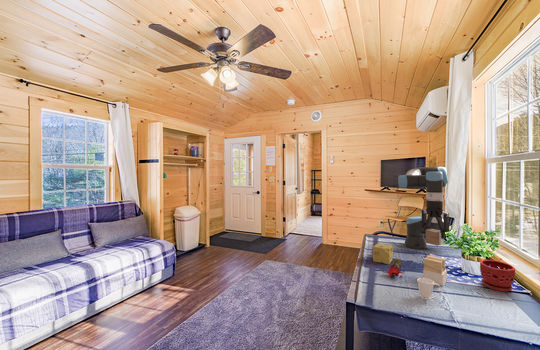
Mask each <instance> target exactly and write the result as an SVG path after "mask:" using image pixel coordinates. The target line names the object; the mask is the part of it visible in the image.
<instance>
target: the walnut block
mask: <svg viewBox="0 0 540 350" xmlns="http://www.w3.org/2000/svg"><path fill="white" fill-rule="evenodd" d="M439 232H441V231H440V230H436V229H429V230H426V235H425V241H426V244H429V245H433V246H440V245H439Z"/></svg>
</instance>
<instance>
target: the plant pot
mask: <svg viewBox="0 0 540 350" xmlns="http://www.w3.org/2000/svg"><path fill="white" fill-rule="evenodd" d="M499 267H500V268H499ZM479 271H480V275H481V283H482V285H483V286H485V287H487V288H489V289H490V290H494V291H498V292H510V291H512V290H513V286H512V285H513V283H514V281H515V278H516V268H515V267H514V266H513V265H511V264H509V263H507V262H502V261H500V260H492V259H483V260H480V261H479Z"/></svg>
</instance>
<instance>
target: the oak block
mask: <svg viewBox="0 0 540 350" xmlns="http://www.w3.org/2000/svg"><path fill="white" fill-rule="evenodd" d="M445 269H446V258H443V257H438V256H433V255H427V256H425V257H424V259H423V270H427V271H431V272H435V273H439V274H442V273H443V272H444V271H445Z"/></svg>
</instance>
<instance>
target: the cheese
mask: <svg viewBox="0 0 540 350" xmlns="http://www.w3.org/2000/svg"><path fill="white" fill-rule="evenodd" d="M393 256H394V249H393V245H390V244H381V243H376V244H375V245H373V247H372V260H373V261H372V262H375V263H382V264H386V265H390V264H391V262H393Z"/></svg>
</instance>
